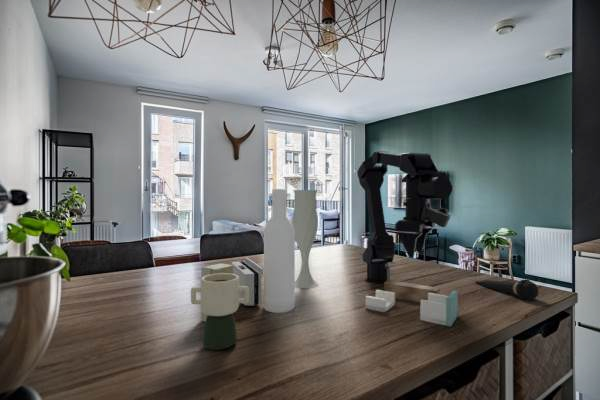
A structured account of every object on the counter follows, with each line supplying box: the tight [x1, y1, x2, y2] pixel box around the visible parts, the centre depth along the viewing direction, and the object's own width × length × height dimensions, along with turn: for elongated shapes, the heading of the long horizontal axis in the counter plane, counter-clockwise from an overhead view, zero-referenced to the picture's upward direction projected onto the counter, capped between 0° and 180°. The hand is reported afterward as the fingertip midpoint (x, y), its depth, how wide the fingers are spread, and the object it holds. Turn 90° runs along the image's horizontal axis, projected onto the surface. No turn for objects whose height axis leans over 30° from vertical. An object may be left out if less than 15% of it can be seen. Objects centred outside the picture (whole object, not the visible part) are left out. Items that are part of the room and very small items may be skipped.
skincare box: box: [200, 262, 234, 323], centre depth 78 cm, size 6×4×12 cm
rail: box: [383, 279, 441, 303], centre depth 93 cm, size 14×4×4 cm, turn 56°
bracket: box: [230, 256, 264, 306], centre depth 92 cm, size 17×5×10 cm, turn 23°
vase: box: [292, 189, 319, 289], centre depth 107 cm, size 9×8×30 cm
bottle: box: [263, 188, 296, 314], centre depth 85 cm, size 8×8×30 cm
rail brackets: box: [364, 289, 459, 327], centre depth 82 cm, size 20×8×6 cm, turn 55°
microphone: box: [474, 279, 539, 301], centre depth 100 cm, size 6×6×20 cm
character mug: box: [190, 273, 249, 351], centre depth 64 cm, size 11×7×13 cm, turn 94°
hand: (415, 255), depth 93 cm, fingers open, 9 cm apart
